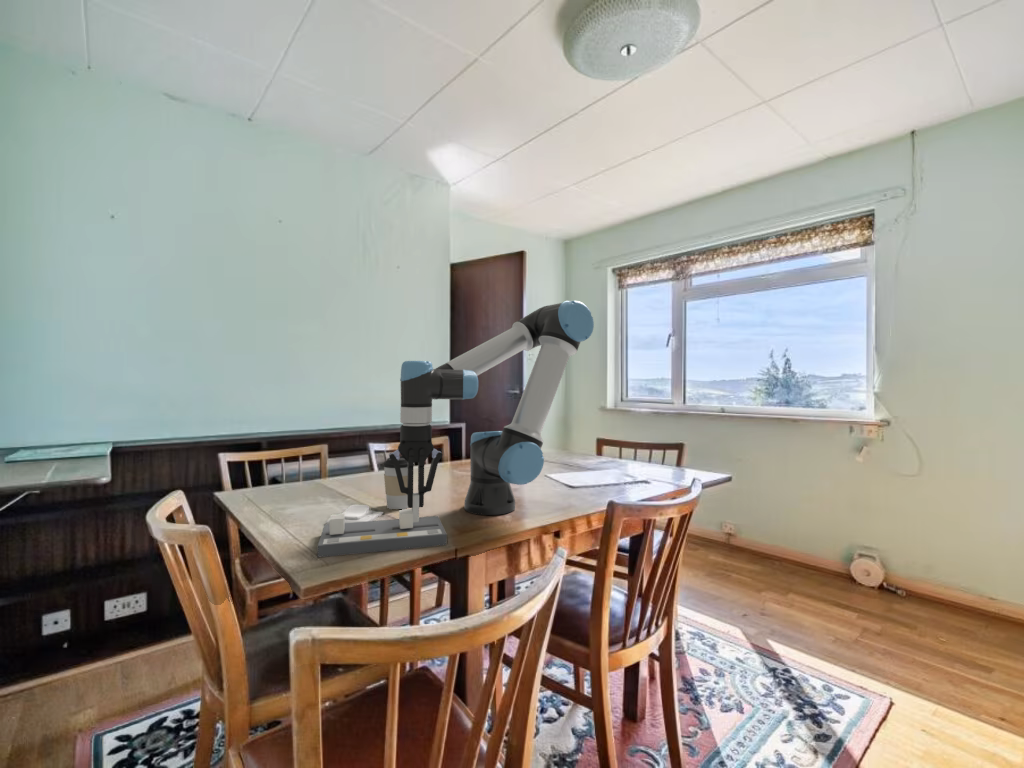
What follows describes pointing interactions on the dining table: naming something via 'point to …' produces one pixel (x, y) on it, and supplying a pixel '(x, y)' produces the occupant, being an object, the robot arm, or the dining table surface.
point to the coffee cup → (395, 484)
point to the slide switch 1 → (337, 524)
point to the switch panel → (381, 536)
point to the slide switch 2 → (406, 518)
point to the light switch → (359, 514)
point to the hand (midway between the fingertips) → (415, 520)
